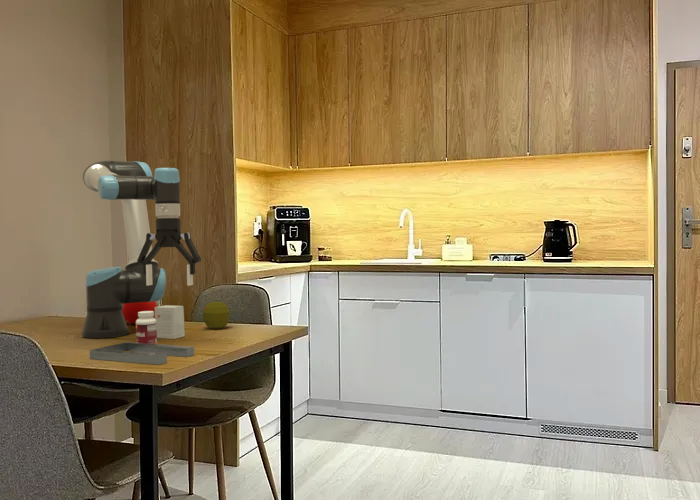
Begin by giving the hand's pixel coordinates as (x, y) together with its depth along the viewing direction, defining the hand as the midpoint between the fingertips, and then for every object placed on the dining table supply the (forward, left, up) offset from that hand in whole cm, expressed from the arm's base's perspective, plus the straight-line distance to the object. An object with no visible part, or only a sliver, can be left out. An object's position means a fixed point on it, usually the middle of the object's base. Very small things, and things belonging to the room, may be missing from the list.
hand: (169, 285), depth 216 cm
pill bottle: (-4, -7, -19) cm, 21 cm away
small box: (-10, +11, -19) cm, 24 cm away
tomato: (-44, +34, -19) cm, 59 cm away
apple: (-7, +33, -19) cm, 39 cm away
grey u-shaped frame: (+6, -20, -19) cm, 28 cm away
